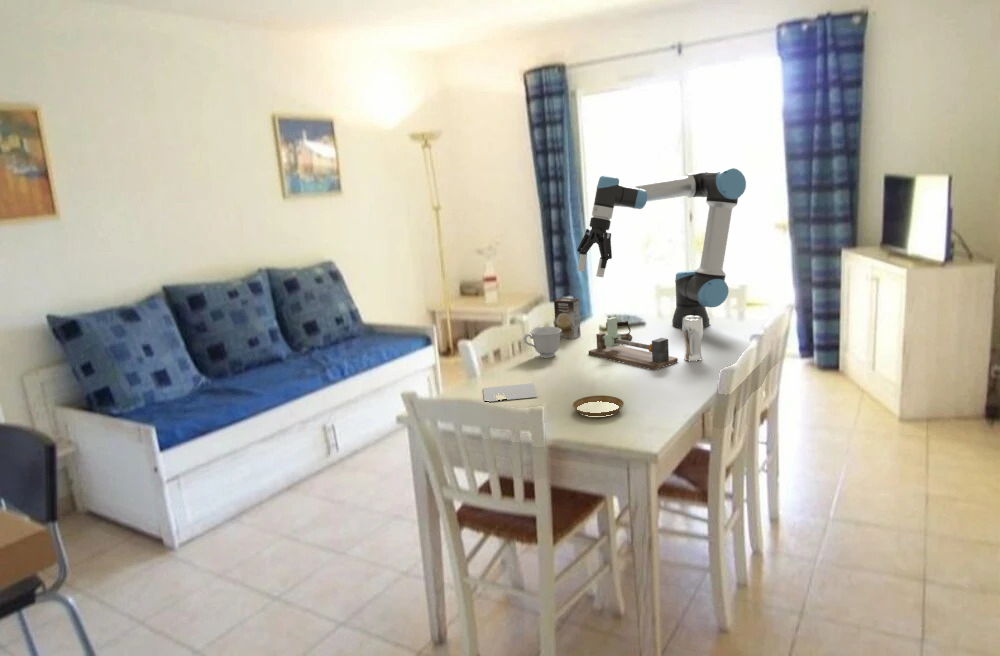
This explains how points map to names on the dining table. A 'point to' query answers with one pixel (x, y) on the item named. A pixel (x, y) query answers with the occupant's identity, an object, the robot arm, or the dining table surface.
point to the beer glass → (692, 337)
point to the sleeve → (611, 333)
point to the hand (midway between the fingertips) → (589, 274)
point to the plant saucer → (599, 398)
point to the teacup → (545, 340)
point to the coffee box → (567, 317)
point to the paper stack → (510, 392)
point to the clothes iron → (624, 336)
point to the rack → (635, 352)
